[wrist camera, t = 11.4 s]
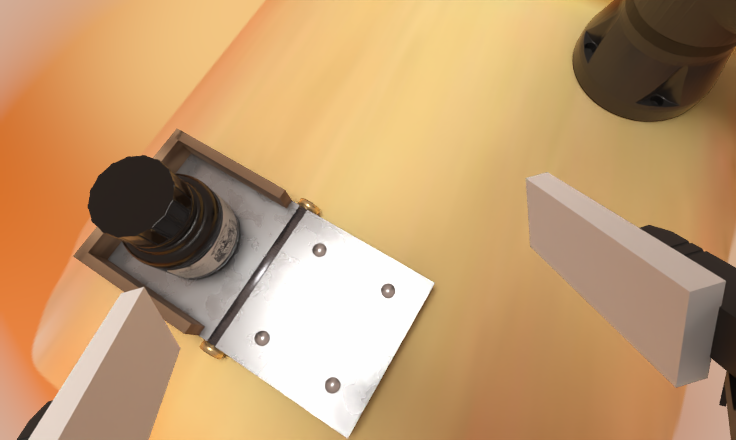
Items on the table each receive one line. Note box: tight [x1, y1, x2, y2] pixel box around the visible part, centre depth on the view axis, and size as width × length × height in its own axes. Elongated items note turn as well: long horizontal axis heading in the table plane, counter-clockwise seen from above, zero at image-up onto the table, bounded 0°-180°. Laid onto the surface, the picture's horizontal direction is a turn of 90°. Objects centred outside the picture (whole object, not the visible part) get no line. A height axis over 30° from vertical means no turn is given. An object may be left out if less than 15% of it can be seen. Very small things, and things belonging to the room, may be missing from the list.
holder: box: [74, 129, 292, 335], centre depth 43 cm, size 16×14×3 cm
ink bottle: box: [88, 155, 239, 279], centre depth 38 cm, size 10×9×12 cm
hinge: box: [108, 153, 435, 438], centre depth 43 cm, size 18×31×3 cm, turn 59°
